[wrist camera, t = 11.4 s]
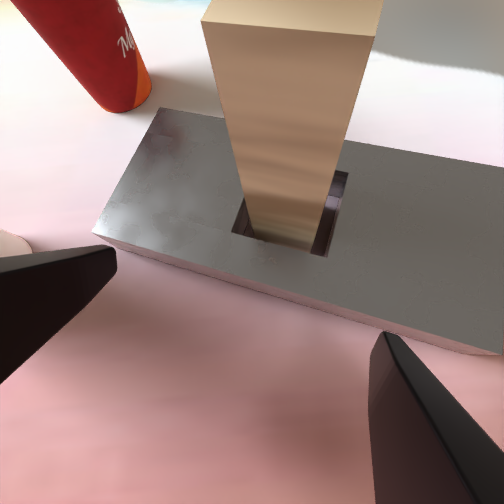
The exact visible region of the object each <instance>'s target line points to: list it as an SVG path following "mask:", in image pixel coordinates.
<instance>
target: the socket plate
mask: <svg viewBox="0 0 504 504" xmlns="http://www.w3.org/2000/svg"><path fill="white" fill-rule="evenodd" d="M328 195H331V196H336V197H339V201H338V205H337V209H336V213H335V217H334V221H333V224H332V228H331V232H330V236H329V240H328V244H327V248H326V252H325V256H324V257H322V256H318V255H314V254H310V253H307V252H303V251H299V250H295V249H292V248H288V247H284V246H280V245H277V244H273V243H269V242H265V241H262V240H258V239H254V238H250V237H246V236H243V234H244V231H245V228H246V226H247V223H248V220H249V213H248V209H247V205H246V201H245V197H244V193H243V189H242V185H241V181H240V177H239V173H238V169H237V165H236V161H235V157H234V153H233V149H232V145H231V141H230V137H229V133H228V129H227V125H226V121H225V119H223V118H217V117H212V116H206V115H200V114H194V113H189V112H183V111H177V110H172V109H166V108H159V110H158V112H157V114H156V116H155V117H154V119H153V121H152V123H151V125H150V126H149V128H148V130H147V132H146V134H145V136H144V137H143V139H142V141H141V143H140V145H139V146H138V148H137V150H136V152H135V154H134V156H133V157H132V159H131V161H130V163H129V165H128V166H127V168H126V170H125V172H124V174H123V176H122V177H121V179H120V181H119V183H118V185H117V186H116V188H115V190H114V192H113V194H112V196H111V197H110V199H109V201H108V203H107V205H106V206H105V208H104V210H103V212H102V214H101V215H100V217H99V219H98V221H97V223H96V225H95V226H94V228H93V230H92V233H94V234H95V235H97V236H99V237H100V238H102V239H104V240H105V241H107V242H109V243H110V244H112V245H114V246H115V247H117V248H119V249H123V250H126V251H129V252H132V253H136V254H139V255H142V256H145V257H149V258H152V259H155V260H158V261H162V262H165V263H168V264H172V265H175V266H178V267H181V268H185V269H188V270H191V271H194V272H198V273H201V274H204V275H207V276H211V277H214V278H217V279H220V280H224V281H227V282H230V283H234V284H237V285H240V286H243V287H247V288H250V289H253V290H256V291H260V292H263V293H266V294H269V295H273V296H276V297H279V298H282V299H286V300H289V301H292V302H295V303H299V304H302V305H305V306H309V307H312V308H315V309H318V310H322V311H325V312H328V313H331V314H335V315H338V316H341V317H344V318H348V319H351V320H354V321H357V322H361V323H364V324H367V325H371V326H374V327H377V328H380V329H384V330H387V331H390V332H393V333H397V334H400V335H403V336H406V337H410V338H413V339H416V340H419V341H423V342H426V343H429V344H432V345H436V346H439V347H442V348H446V349H449V350H452V351H455V352H459V353H462V354H482V355H503V333H504V168H502V167H497V166H491V165H485V164H480V163H474V162H468V161H463V160H457V159H451V158H445V157H440V156H434V155H428V154H423V153H417V152H411V151H405V150H400V149H394V148H388V147H383V146H377V145H371V144H366V143H360V142H354V141H348V140H344V142H343V145H342V148H341V152H340V155H339V159H338V162H337V165H336V169H335V172H334V175H333V179H332V182H331V185H330V189H329V192H328Z"/></svg>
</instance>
